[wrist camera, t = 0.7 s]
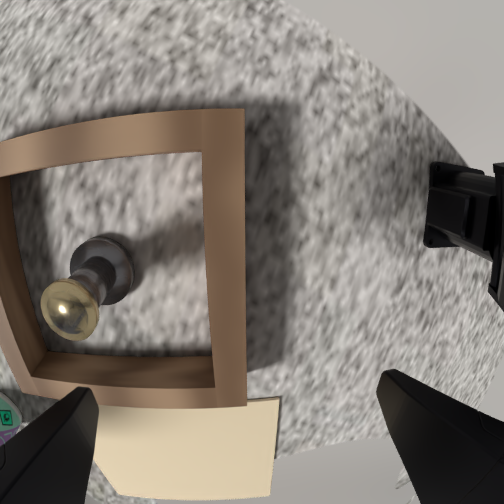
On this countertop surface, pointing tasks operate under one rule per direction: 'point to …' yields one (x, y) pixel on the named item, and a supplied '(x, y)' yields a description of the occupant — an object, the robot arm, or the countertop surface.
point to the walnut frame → (216, 255)
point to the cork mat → (188, 451)
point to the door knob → (87, 288)
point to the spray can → (8, 418)
